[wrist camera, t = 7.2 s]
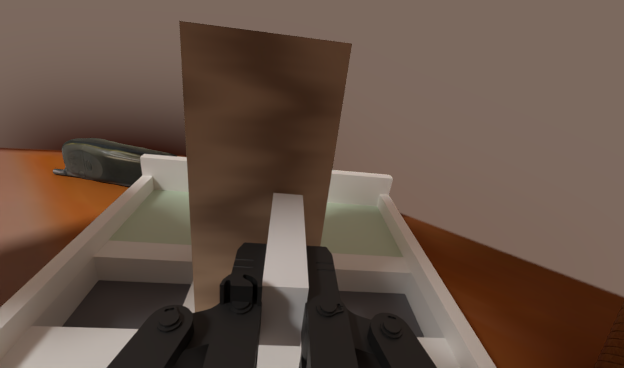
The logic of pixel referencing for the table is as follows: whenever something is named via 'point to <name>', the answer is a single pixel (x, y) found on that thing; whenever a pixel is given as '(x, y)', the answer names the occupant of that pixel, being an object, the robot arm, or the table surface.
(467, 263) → the table surface
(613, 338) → the disposable coffee cup
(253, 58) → the walnut block
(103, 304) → the board
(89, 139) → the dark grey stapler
